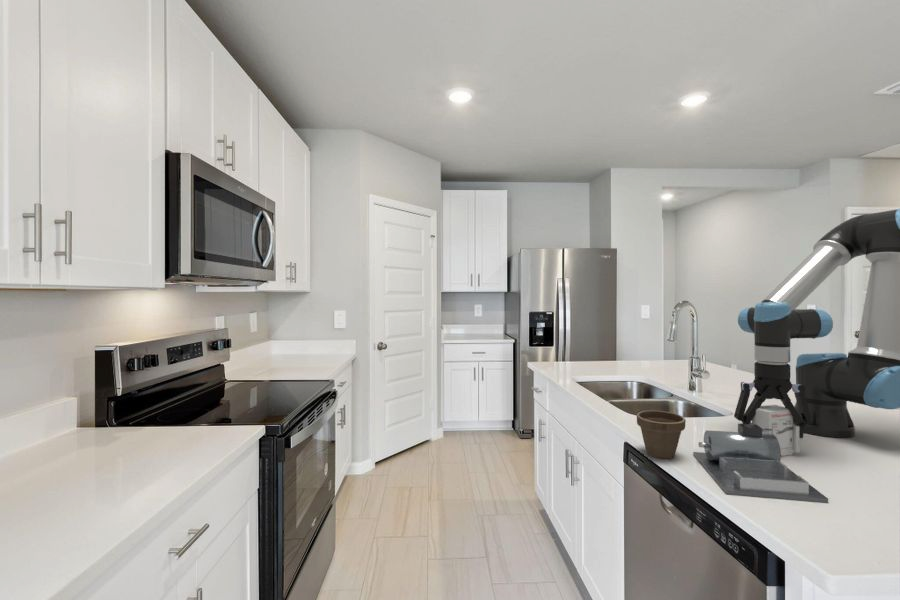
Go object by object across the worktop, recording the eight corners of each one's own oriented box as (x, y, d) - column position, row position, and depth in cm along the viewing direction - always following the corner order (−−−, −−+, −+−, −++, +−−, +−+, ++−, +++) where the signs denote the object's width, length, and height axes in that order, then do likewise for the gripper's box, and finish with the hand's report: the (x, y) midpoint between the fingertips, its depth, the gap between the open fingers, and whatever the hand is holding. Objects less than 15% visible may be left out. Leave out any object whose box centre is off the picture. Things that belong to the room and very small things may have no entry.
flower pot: (683, 466, 107) (683, 424, 107) (633, 457, 113) (633, 418, 113) (687, 451, 117) (687, 413, 117) (640, 444, 123) (640, 408, 123)
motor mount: (773, 460, 110) (773, 421, 110) (828, 502, 88) (828, 454, 88) (693, 455, 114) (693, 417, 114) (726, 494, 92) (725, 447, 92)
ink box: (768, 458, 111) (768, 411, 111) (750, 452, 116) (750, 406, 116) (794, 454, 114) (794, 408, 114) (775, 448, 119) (775, 404, 118)
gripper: (813, 361, 116) (814, 447, 116) (719, 359, 121) (719, 441, 121) (831, 365, 108) (831, 457, 109) (729, 363, 114) (729, 450, 114)
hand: (772, 449), depth 115 cm, fingers closed on ink box, 9 cm apart
